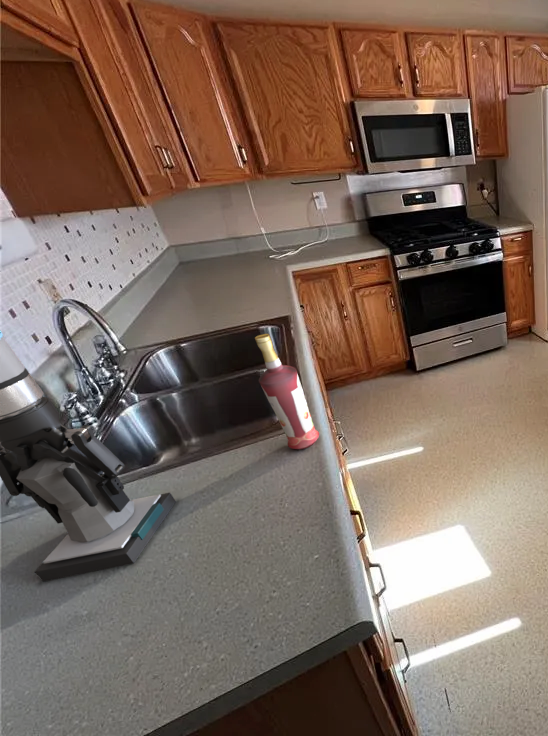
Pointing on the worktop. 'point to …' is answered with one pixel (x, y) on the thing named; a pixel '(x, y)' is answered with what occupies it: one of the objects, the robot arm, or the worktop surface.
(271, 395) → the liquor
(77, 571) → the scale
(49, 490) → the coffeepot
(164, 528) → the worktop surface
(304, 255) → the worktop surface
